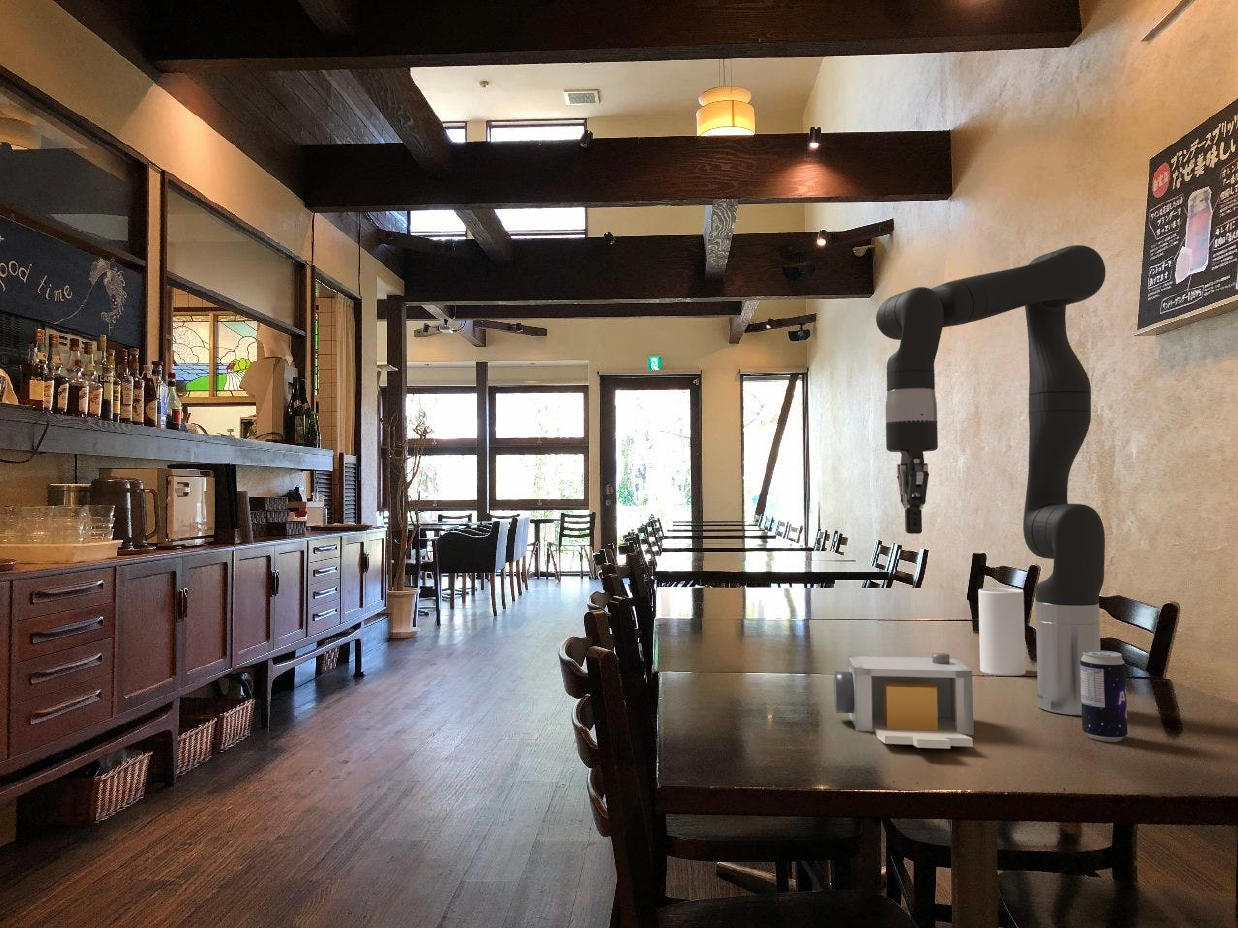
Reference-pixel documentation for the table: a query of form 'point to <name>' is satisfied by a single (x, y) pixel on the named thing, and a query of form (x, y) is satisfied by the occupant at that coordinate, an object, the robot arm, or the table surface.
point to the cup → (1002, 631)
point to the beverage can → (1103, 695)
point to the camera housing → (906, 693)
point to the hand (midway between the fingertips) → (913, 533)
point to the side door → (924, 738)
